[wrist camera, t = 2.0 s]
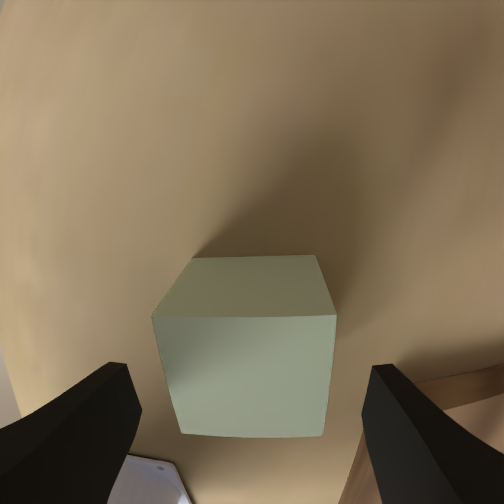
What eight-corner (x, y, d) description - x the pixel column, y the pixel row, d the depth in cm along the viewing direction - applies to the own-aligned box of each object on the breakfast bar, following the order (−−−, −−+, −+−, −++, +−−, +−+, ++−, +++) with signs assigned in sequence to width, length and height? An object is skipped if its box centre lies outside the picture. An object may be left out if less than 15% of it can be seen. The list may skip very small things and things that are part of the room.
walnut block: (337, 498, 19) (341, 527, 17) (371, 382, 15) (385, 421, 12) (477, 465, 18) (486, 487, 15) (542, 346, 14) (564, 368, 11)
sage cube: (205, 355, 15) (181, 433, 10) (192, 257, 13) (151, 315, 8) (311, 355, 14) (322, 435, 10) (314, 254, 13) (337, 314, 8)
